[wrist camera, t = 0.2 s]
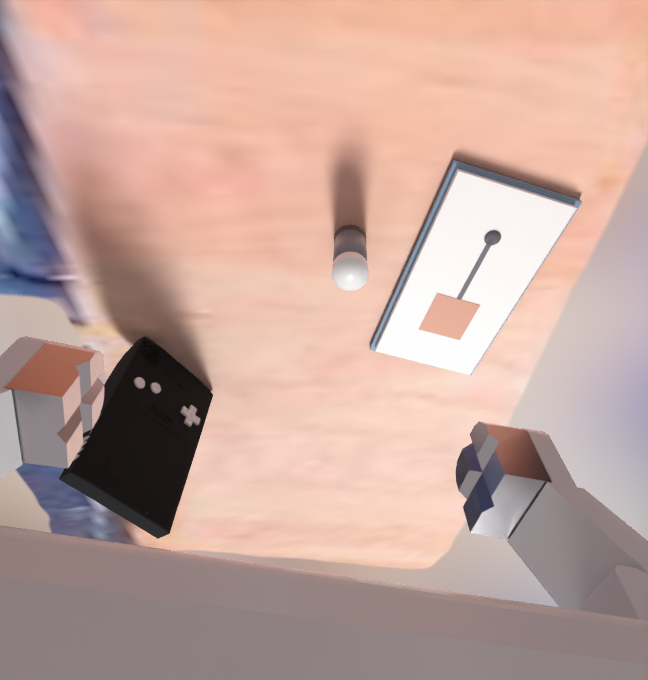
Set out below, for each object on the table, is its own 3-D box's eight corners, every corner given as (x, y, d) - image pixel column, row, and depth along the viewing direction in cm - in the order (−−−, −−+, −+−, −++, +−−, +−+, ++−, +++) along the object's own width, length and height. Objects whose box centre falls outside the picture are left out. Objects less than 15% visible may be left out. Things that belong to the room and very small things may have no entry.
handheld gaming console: (217, 391, 65) (175, 532, 49) (193, 405, 66) (144, 545, 51) (146, 331, 59) (72, 468, 43) (122, 348, 61) (43, 486, 45)
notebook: (453, 159, 45) (455, 164, 44) (579, 199, 47) (585, 205, 46) (369, 346, 59) (370, 353, 58) (469, 371, 61) (472, 379, 60)
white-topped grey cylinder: (339, 221, 49) (338, 254, 44) (370, 230, 50) (373, 264, 44) (330, 249, 51) (327, 285, 46) (360, 258, 52) (361, 294, 46)
